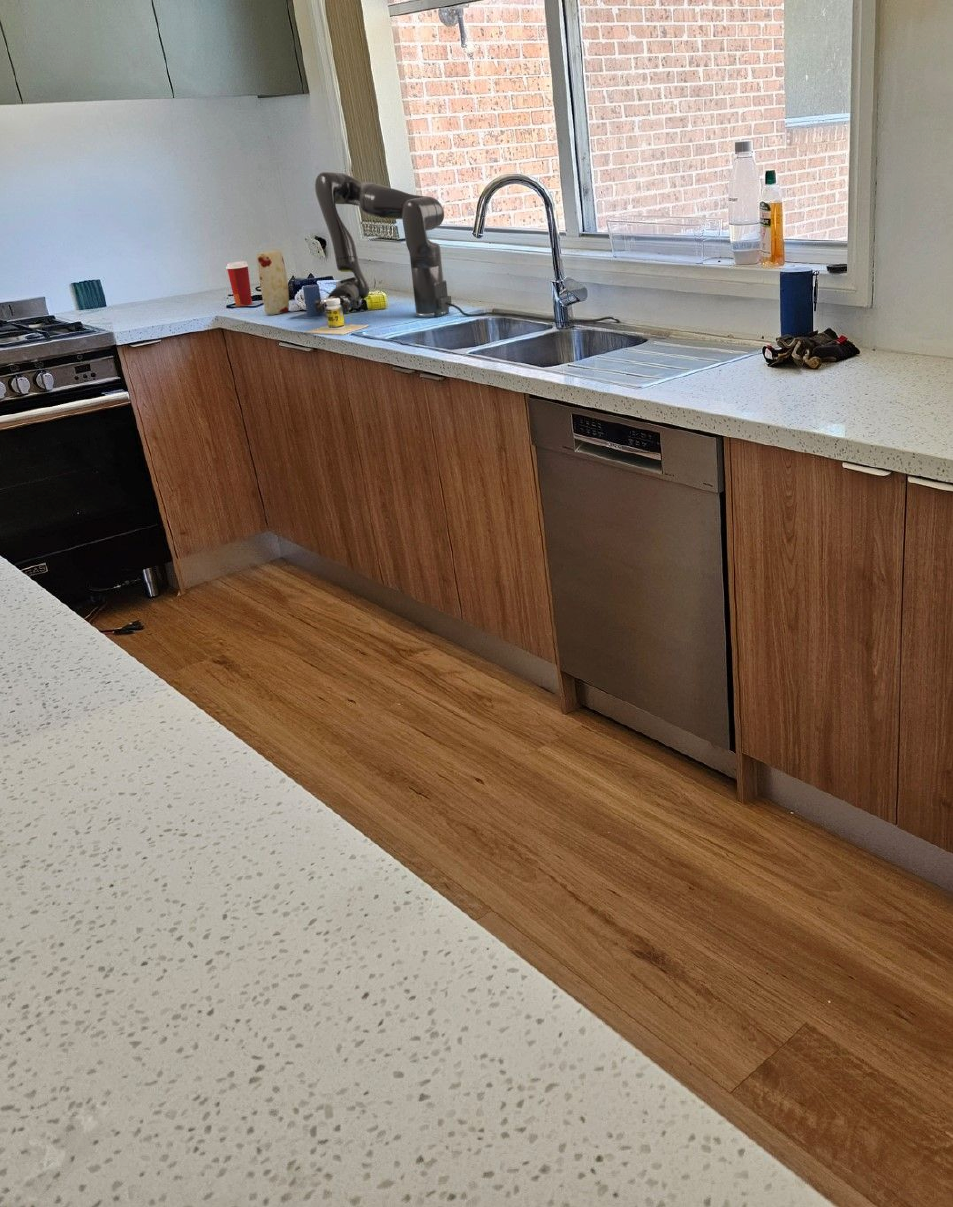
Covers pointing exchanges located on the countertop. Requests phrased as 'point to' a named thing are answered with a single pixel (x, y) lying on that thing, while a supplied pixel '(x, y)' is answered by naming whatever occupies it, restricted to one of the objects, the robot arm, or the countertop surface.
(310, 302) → the blue rectangular block
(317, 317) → the blue mat
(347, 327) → the cream mat
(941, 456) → the countertop surface
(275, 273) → the food model
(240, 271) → the paper cup
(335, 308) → the supplement bottle
